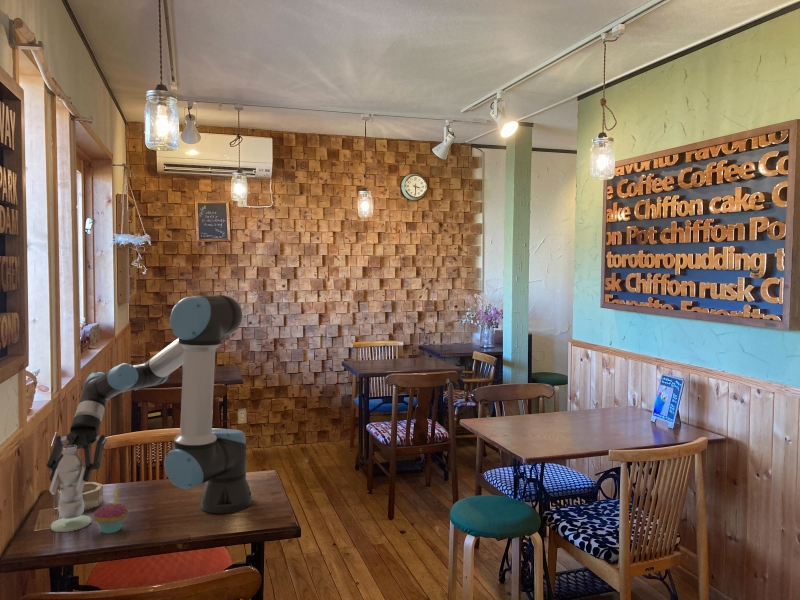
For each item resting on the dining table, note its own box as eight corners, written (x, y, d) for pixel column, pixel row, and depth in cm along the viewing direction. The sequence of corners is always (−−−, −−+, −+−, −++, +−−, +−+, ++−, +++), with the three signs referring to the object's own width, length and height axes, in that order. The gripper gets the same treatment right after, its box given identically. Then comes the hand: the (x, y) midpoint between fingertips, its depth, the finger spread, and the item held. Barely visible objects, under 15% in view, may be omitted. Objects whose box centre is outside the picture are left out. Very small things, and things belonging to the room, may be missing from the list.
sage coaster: (98, 523, 175) (98, 520, 175) (62, 535, 167) (62, 532, 167) (79, 515, 181) (79, 512, 181) (43, 526, 172) (43, 524, 172)
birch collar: (109, 502, 191) (109, 486, 191) (72, 514, 181) (72, 497, 181) (88, 495, 197) (88, 480, 197) (52, 506, 188) (52, 490, 187)
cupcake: (119, 521, 176) (118, 480, 176) (133, 529, 171) (133, 486, 170) (88, 531, 169) (87, 488, 169) (102, 539, 164) (102, 495, 164)
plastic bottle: (90, 513, 176) (88, 444, 175) (71, 522, 169) (70, 451, 169) (71, 511, 178) (70, 442, 177) (52, 520, 171) (51, 449, 170)
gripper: (124, 425, 189) (105, 496, 173) (58, 427, 187) (33, 499, 171) (117, 412, 184) (98, 484, 168) (49, 413, 181) (23, 487, 166)
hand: (65, 491), depth 170 cm, fingers closed on plastic bottle, 6 cm apart
